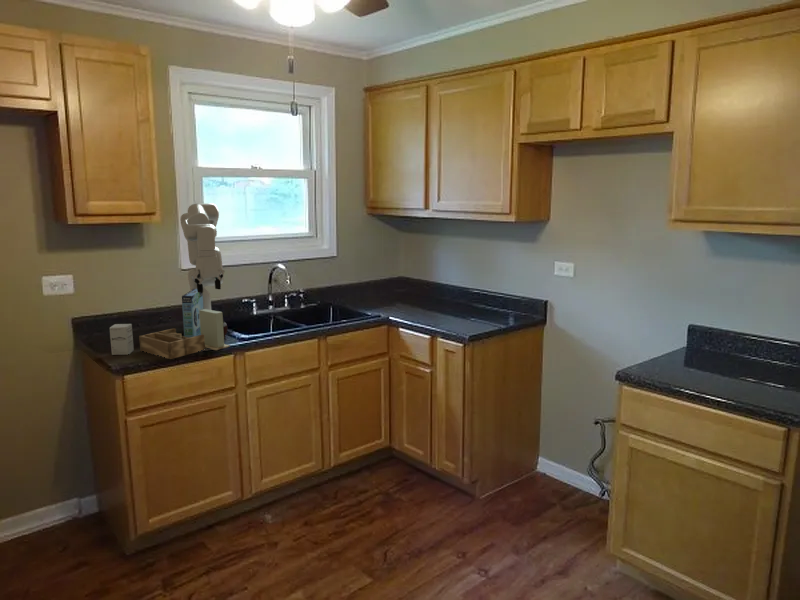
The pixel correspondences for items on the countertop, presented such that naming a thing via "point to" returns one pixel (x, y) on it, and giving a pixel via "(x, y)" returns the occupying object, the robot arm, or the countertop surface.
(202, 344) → the oak rack
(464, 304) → the countertop surface
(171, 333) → the offcut pine
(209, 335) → the sage panel
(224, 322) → the mate gourd
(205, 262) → the robot arm
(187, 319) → the gum box
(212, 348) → the cork board
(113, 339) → the supplement box
